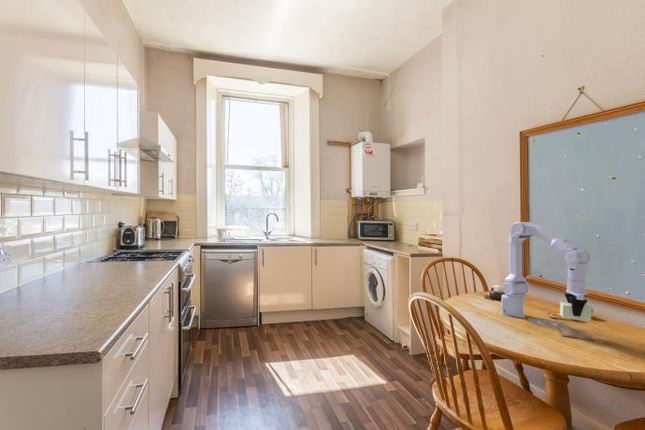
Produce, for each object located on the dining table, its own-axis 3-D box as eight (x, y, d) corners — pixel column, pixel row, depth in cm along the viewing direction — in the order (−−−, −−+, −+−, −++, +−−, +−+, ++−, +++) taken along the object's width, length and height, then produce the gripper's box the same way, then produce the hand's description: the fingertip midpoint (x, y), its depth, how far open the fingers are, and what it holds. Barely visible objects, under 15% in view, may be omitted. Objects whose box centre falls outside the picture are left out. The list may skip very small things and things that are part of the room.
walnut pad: (561, 336, 133) (561, 334, 133) (556, 328, 142) (556, 327, 142) (593, 341, 129) (593, 339, 129) (585, 333, 138) (585, 331, 138)
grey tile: (530, 324, 147) (530, 324, 147) (527, 318, 156) (527, 317, 156) (570, 330, 141) (570, 329, 141) (564, 323, 150) (564, 322, 150)
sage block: (562, 317, 135) (563, 305, 135) (559, 314, 140) (560, 301, 140) (590, 321, 131) (591, 308, 131) (586, 317, 136) (587, 305, 136)
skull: (478, 294, 196) (490, 281, 197) (490, 306, 197) (502, 293, 197) (489, 298, 184) (502, 284, 185) (503, 311, 185) (515, 298, 185)
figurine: (583, 315, 150) (552, 306, 154) (579, 328, 150) (548, 318, 154) (576, 311, 158) (547, 302, 162) (573, 323, 158) (543, 314, 162)
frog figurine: (581, 314, 166) (581, 299, 165) (596, 318, 159) (597, 303, 159) (572, 314, 164) (572, 300, 164) (587, 319, 157) (587, 304, 157)
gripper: (594, 284, 127) (592, 320, 127) (583, 277, 140) (581, 310, 141) (571, 282, 130) (569, 317, 130) (562, 276, 143) (561, 308, 144)
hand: (574, 314), depth 136 cm, fingers closed on sage block, 5 cm apart
